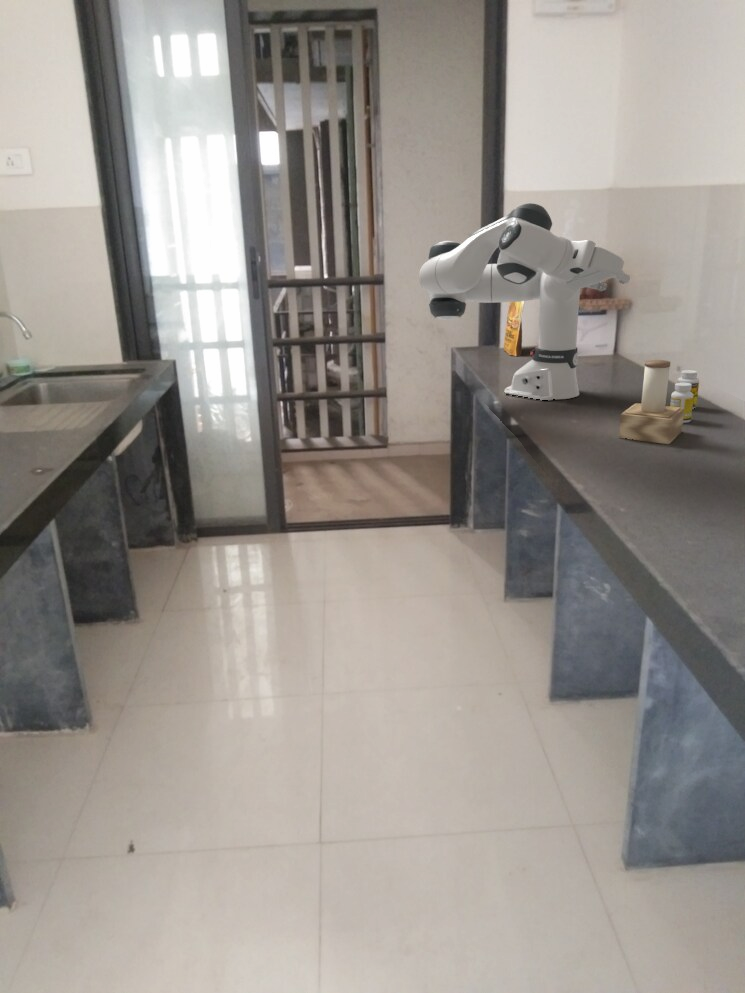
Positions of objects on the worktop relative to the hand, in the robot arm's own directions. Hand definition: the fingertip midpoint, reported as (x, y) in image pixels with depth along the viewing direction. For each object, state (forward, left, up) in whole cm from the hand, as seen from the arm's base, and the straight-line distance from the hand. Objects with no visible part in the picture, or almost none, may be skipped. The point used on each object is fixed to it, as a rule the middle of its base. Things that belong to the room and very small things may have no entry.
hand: (616, 284), depth 183 cm
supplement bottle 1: (+11, +33, -37) cm, 50 cm away
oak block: (+10, +3, -36) cm, 38 cm away
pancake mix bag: (-67, +91, -37) cm, 119 cm away
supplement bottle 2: (+13, +19, -37) cm, 43 cm away
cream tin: (+10, +3, -30) cm, 32 cm away
